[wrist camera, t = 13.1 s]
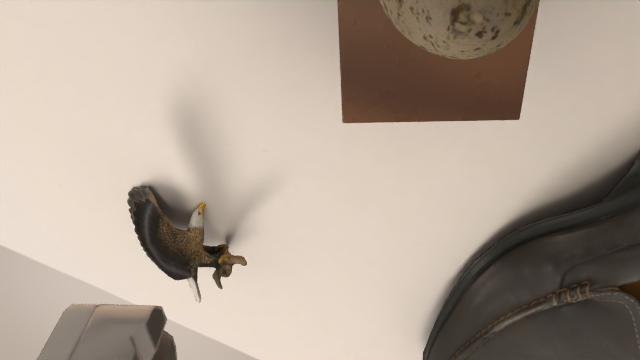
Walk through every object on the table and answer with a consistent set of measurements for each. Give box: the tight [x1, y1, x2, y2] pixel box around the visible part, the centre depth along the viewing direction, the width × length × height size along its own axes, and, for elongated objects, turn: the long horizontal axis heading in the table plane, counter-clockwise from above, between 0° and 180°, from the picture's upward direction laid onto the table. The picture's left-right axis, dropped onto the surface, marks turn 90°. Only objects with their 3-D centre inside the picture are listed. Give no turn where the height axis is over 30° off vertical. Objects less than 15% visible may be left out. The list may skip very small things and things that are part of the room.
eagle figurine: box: [127, 187, 247, 303], centre depth 42 cm, size 8×7×9 cm
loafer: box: [423, 156, 640, 360], centre depth 38 cm, size 13×36×13 cm, turn 147°
